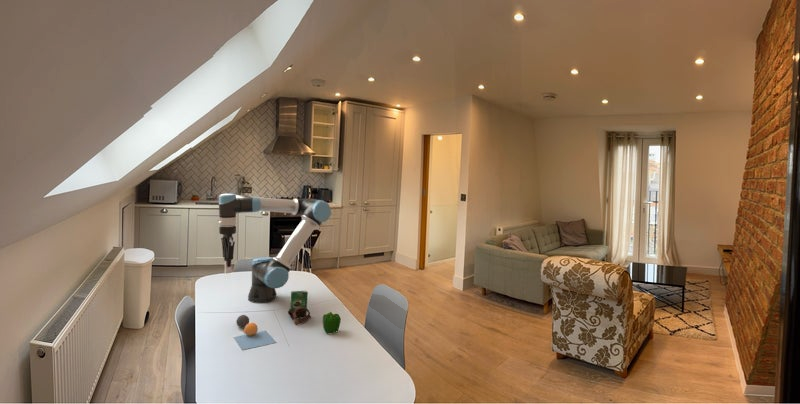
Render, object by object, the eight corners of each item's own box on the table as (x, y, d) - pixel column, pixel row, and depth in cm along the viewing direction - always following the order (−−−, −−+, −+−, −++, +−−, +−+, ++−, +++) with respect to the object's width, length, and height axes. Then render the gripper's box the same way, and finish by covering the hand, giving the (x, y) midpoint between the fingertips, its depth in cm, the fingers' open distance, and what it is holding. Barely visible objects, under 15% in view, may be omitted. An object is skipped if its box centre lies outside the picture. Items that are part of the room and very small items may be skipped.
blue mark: (265, 330, 181) (265, 330, 181) (276, 342, 170) (276, 342, 170) (233, 337, 173) (233, 337, 173) (242, 350, 162) (242, 349, 162)
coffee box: (305, 314, 203) (306, 289, 201) (307, 317, 200) (307, 291, 199) (289, 316, 199) (290, 291, 198) (290, 318, 197) (291, 292, 195)
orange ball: (256, 319, 178) (259, 327, 174) (254, 328, 180) (258, 336, 176) (243, 321, 175) (246, 329, 171) (242, 331, 177) (245, 339, 173)
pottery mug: (313, 319, 198) (314, 308, 194) (304, 334, 191) (305, 323, 186) (291, 311, 200) (292, 300, 195) (281, 325, 192) (282, 314, 187)
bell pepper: (331, 326, 190) (332, 306, 189) (343, 331, 184) (344, 310, 184) (317, 331, 183) (318, 310, 182) (329, 337, 178) (330, 315, 177)
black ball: (249, 314, 183) (250, 326, 183) (247, 313, 188) (248, 324, 187) (236, 317, 180) (238, 329, 180) (235, 315, 185) (236, 327, 185)
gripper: (215, 224, 197) (216, 270, 199) (223, 228, 187) (224, 277, 189) (231, 223, 202) (231, 268, 204) (240, 226, 192) (240, 274, 194)
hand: (228, 272), depth 197 cm, fingers closed
